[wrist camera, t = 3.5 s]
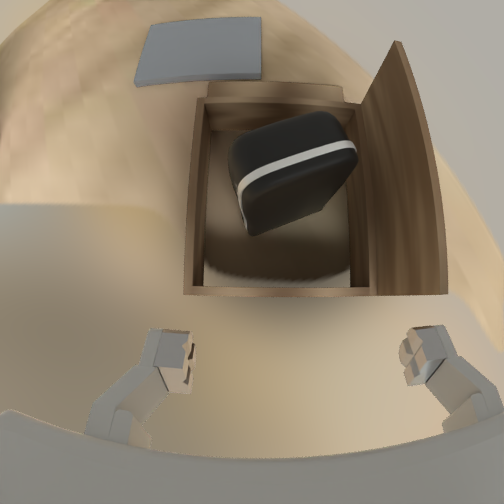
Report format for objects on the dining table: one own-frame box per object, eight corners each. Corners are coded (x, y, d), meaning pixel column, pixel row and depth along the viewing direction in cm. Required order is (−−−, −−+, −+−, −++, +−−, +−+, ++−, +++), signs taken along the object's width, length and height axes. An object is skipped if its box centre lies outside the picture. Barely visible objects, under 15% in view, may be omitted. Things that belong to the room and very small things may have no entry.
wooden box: (195, 294, 25) (141, 294, 12) (209, 84, 27) (189, -13, 15) (362, 295, 25) (448, 294, 12) (345, 89, 27) (383, 0, 15)
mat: (136, 87, 28) (133, 81, 27) (153, 30, 29) (151, 25, 28) (260, 79, 27) (261, 73, 26) (260, 22, 29) (260, 17, 28)
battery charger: (306, 170, 26) (338, 93, 15) (325, 209, 26) (372, 151, 14) (230, 198, 26) (214, 130, 14) (247, 239, 25) (242, 196, 14)
